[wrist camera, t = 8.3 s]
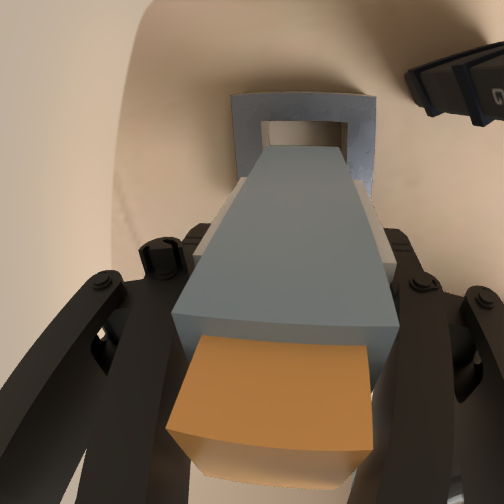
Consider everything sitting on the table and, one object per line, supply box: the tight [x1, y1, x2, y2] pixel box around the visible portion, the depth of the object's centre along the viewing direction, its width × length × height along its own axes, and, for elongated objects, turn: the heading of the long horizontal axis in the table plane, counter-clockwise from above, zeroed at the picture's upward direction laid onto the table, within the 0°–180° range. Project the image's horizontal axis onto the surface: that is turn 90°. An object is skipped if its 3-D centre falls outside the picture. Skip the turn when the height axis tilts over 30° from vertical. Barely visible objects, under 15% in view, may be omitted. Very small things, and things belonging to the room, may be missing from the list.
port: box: [231, 91, 376, 199], centre depth 22 cm, size 10×10×4 cm
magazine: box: [404, 41, 504, 127], centre depth 12 cm, size 4×13×15 cm, turn 121°
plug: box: [166, 146, 400, 489], centre depth 10 cm, size 4×4×15 cm
